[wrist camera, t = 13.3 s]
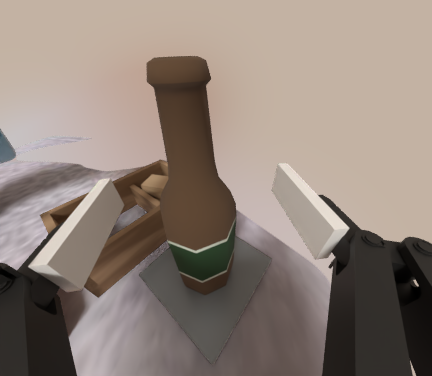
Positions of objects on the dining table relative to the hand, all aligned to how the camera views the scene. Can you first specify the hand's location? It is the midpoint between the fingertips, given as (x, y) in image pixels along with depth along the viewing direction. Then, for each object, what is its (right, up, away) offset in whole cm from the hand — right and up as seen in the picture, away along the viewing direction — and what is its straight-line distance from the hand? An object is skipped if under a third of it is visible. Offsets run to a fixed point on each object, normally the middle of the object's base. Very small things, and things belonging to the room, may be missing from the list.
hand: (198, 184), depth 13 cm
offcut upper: (-9, -1, +20) cm, 22 cm away
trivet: (0, -12, +11) cm, 17 cm away
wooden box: (-13, -7, +18) cm, 24 cm away
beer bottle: (0, -12, +11) cm, 16 cm away
